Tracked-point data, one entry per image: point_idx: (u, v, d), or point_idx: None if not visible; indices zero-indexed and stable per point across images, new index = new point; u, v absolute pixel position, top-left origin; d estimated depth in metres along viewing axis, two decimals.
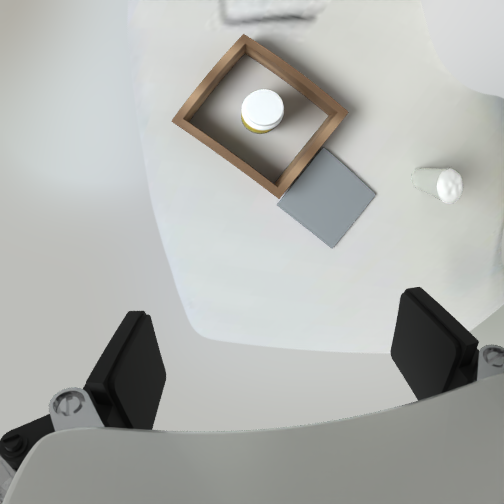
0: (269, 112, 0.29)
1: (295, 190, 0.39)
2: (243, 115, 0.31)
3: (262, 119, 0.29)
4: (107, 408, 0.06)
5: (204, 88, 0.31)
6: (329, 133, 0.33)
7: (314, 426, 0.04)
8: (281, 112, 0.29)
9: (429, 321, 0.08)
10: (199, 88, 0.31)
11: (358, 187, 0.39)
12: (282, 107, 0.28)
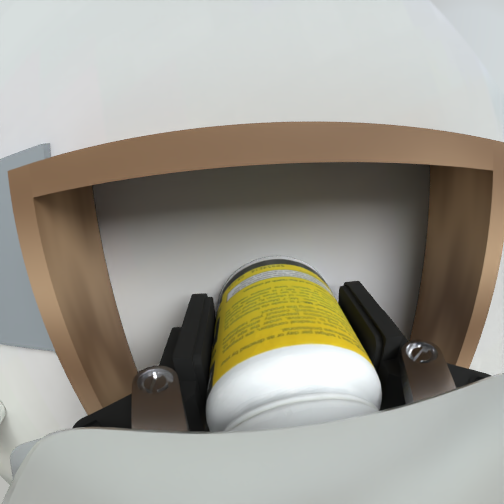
0: None
1: None
2: (355, 364, 0.06)
3: None
4: (191, 383, 0.07)
5: (479, 296, 0.08)
6: None
7: (314, 426, 0.04)
8: None
9: (357, 313, 0.09)
10: (489, 286, 0.08)
11: None
12: None
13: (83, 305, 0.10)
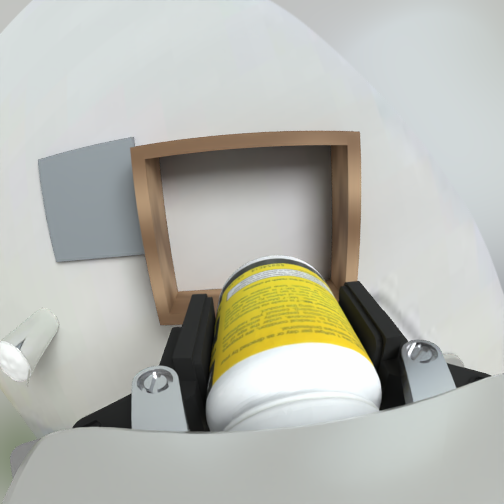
0: None
1: (128, 174, 0.23)
2: (355, 363, 0.06)
3: None
4: (191, 383, 0.07)
5: (350, 206, 0.21)
6: (153, 283, 0.22)
7: (314, 426, 0.04)
8: None
9: (357, 313, 0.09)
10: (356, 202, 0.21)
11: (75, 250, 0.25)
12: None
13: (156, 213, 0.22)
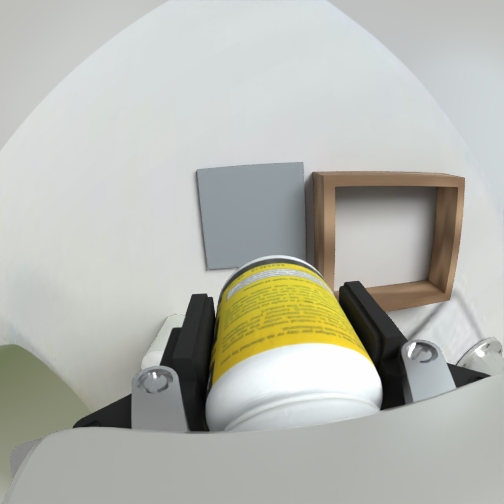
0: None
1: (297, 194, 0.29)
2: (356, 363, 0.06)
3: None
4: (191, 383, 0.07)
5: (456, 228, 0.26)
6: None
7: (314, 426, 0.04)
8: None
9: (357, 313, 0.09)
10: (459, 225, 0.26)
11: (233, 258, 0.30)
12: None
13: None
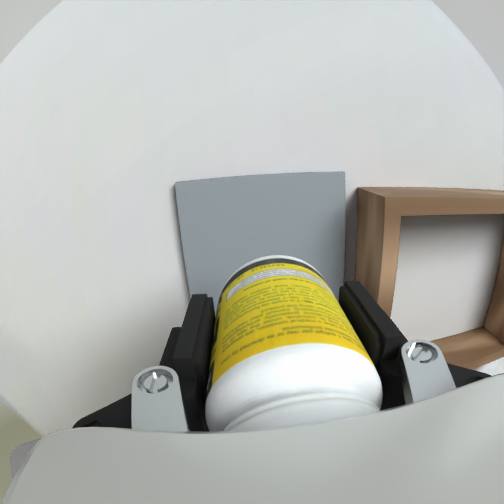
0: None
1: (335, 222, 0.18)
2: (356, 363, 0.06)
3: None
4: (191, 383, 0.07)
5: None
6: None
7: (314, 426, 0.04)
8: None
9: (357, 313, 0.09)
10: None
11: None
12: None
13: None
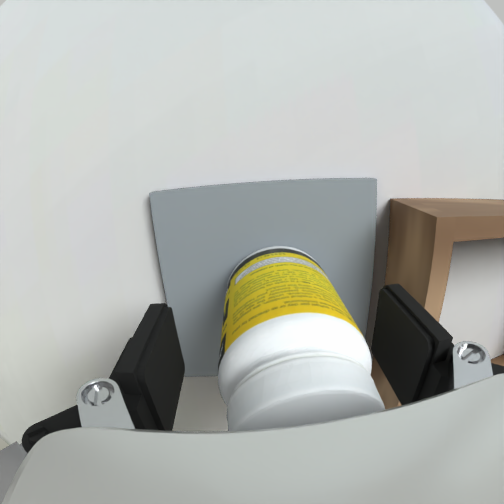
0: None
1: (362, 245, 0.13)
2: (346, 331, 0.08)
3: (283, 418, 0.06)
4: (135, 397, 0.07)
5: None
6: None
7: (314, 426, 0.04)
8: None
9: (404, 317, 0.08)
10: None
11: None
12: None
13: None
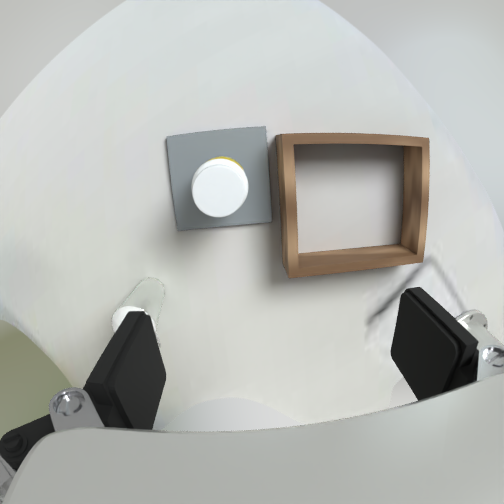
0: (207, 190, 0.22)
1: (261, 156, 0.29)
2: (233, 163, 0.24)
3: (207, 176, 0.22)
4: (107, 408, 0.06)
5: (423, 188, 0.28)
6: (289, 241, 0.29)
7: (314, 426, 0.04)
8: (196, 201, 0.22)
9: (429, 321, 0.08)
10: (426, 185, 0.28)
11: (201, 219, 0.31)
12: (200, 208, 0.22)
13: None
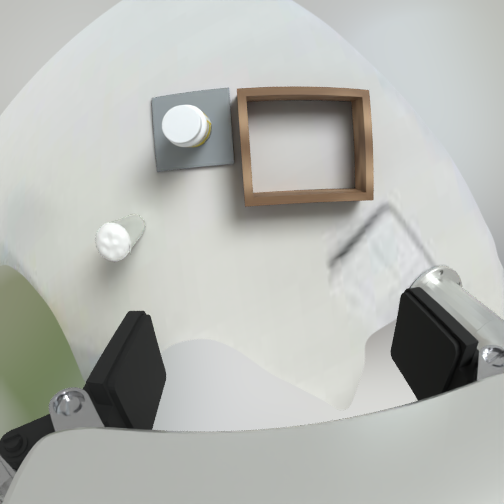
0: (172, 123, 0.27)
1: (224, 110, 0.35)
2: (195, 107, 0.29)
3: (173, 113, 0.27)
4: (107, 408, 0.06)
5: (366, 131, 0.33)
6: (244, 173, 0.34)
7: (314, 426, 0.04)
8: (164, 131, 0.28)
9: (429, 321, 0.08)
10: (369, 129, 0.33)
11: (176, 161, 0.37)
12: (167, 136, 0.28)
13: None
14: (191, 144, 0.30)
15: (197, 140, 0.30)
